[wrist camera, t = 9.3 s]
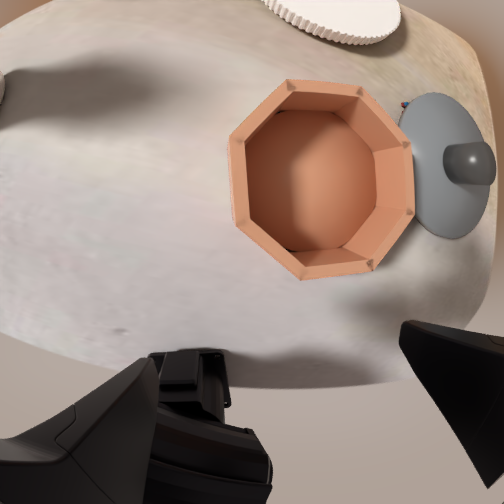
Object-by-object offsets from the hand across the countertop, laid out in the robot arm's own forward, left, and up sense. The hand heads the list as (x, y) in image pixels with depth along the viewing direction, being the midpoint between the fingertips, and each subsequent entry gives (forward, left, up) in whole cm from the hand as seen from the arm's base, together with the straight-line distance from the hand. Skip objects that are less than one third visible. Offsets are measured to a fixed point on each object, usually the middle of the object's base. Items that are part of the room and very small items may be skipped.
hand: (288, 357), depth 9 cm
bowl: (+6, -5, -12) cm, 14 cm away
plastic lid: (+25, -9, -13) cm, 29 cm away
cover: (+8, -19, -11) cm, 23 cm away
